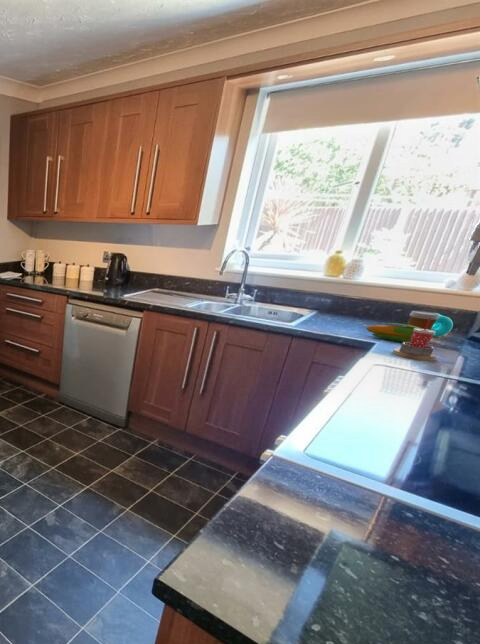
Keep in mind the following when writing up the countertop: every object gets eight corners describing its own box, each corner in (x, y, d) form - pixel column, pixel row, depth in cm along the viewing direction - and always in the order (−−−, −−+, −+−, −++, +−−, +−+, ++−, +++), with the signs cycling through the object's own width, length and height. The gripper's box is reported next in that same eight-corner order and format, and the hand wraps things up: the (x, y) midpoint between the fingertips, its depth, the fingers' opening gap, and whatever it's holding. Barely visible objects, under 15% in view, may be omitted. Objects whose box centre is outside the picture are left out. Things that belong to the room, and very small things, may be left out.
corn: (430, 328, 178) (368, 319, 191) (422, 346, 180) (361, 336, 194) (431, 327, 183) (370, 318, 196) (423, 344, 185) (363, 334, 199)
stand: (434, 356, 167) (439, 345, 165) (435, 363, 159) (440, 351, 157) (393, 349, 174) (397, 339, 173) (391, 355, 167) (396, 344, 165)
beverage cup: (406, 349, 170) (421, 314, 165) (427, 353, 165) (443, 318, 160) (401, 351, 167) (417, 316, 162) (423, 355, 162) (439, 319, 157)
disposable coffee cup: (431, 342, 187) (444, 316, 182) (402, 339, 192) (414, 312, 187) (425, 338, 194) (436, 312, 190) (397, 334, 199) (408, 309, 195)
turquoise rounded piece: (419, 335, 199) (429, 314, 195) (410, 331, 207) (419, 311, 204) (448, 338, 195) (458, 317, 191) (437, 334, 203) (446, 313, 200)
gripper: (504, 237, 148) (485, 277, 153) (497, 236, 161) (479, 273, 166) (477, 236, 152) (459, 275, 157) (473, 235, 165) (456, 271, 170)
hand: (470, 274), depth 162 cm, fingers open, 8 cm apart
